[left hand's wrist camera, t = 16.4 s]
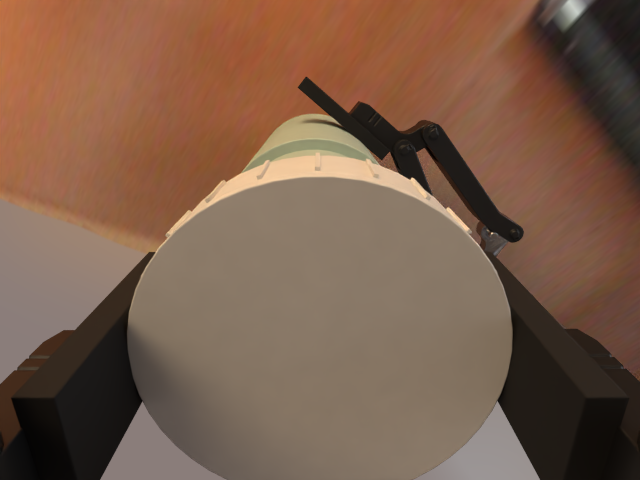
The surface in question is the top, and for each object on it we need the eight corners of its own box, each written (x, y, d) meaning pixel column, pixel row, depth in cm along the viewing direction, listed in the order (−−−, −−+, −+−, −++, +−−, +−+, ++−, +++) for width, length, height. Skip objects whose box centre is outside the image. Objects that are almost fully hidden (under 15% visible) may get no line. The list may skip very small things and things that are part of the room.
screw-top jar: (310, 240, 36) (307, 362, 21) (237, 165, 34) (172, 238, 18) (389, 174, 34) (452, 252, 19) (318, 89, 32) (322, 98, 16)
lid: (513, 162, 11) (562, 185, 9) (452, 442, 14) (476, 508, 12) (145, 141, 11) (100, 159, 9) (170, 429, 14) (143, 495, 12)
